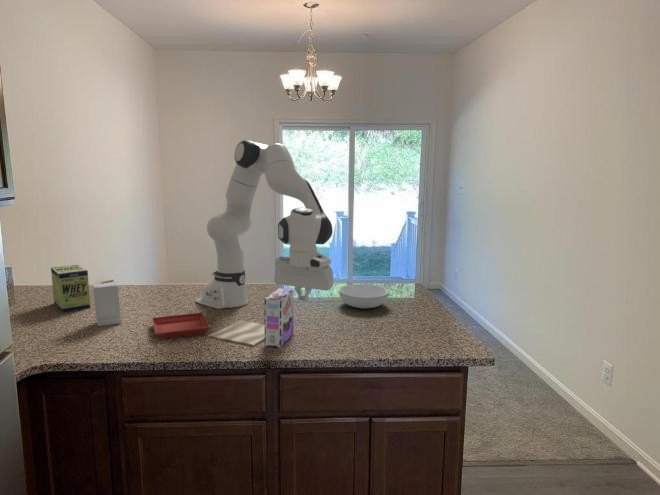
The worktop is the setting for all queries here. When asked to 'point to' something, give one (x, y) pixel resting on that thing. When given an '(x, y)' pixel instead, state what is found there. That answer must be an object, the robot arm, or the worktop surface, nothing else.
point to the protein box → (70, 288)
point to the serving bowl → (363, 295)
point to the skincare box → (107, 303)
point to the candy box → (278, 317)
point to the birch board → (242, 333)
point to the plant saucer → (180, 325)
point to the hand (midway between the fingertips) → (303, 300)
